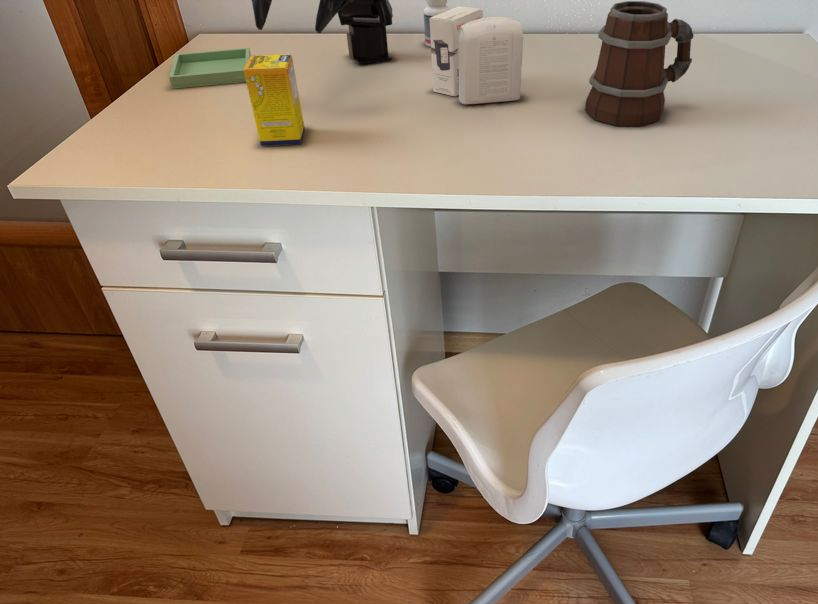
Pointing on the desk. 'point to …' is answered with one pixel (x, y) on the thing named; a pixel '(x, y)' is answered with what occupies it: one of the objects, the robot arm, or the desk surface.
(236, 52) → the green tray
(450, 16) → the ink box
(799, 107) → the desk surface
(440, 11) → the pill bottle
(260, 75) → the supplement box
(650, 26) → the mug
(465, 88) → the white rounded box
